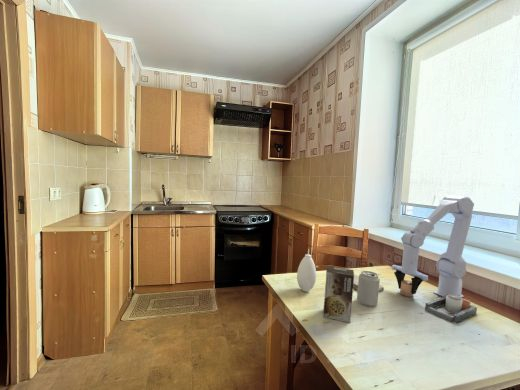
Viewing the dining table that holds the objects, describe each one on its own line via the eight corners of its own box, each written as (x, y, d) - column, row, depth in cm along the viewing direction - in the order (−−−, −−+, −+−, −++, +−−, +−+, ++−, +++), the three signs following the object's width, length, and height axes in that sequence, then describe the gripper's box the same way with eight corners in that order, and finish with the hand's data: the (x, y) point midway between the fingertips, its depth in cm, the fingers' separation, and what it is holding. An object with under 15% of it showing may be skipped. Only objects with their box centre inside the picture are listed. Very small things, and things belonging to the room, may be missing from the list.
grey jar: (448, 306, 102) (450, 292, 101) (463, 312, 97) (465, 298, 97) (442, 308, 99) (444, 294, 99) (457, 315, 95) (459, 300, 95)
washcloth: (350, 277, 128) (350, 271, 128) (384, 291, 113) (385, 284, 113) (335, 281, 121) (335, 275, 121) (369, 297, 107) (370, 289, 106)
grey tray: (445, 301, 106) (446, 295, 106) (476, 313, 97) (477, 307, 97) (424, 309, 97) (424, 303, 97) (455, 323, 88) (456, 316, 88)
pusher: (448, 303, 104) (449, 292, 104) (470, 311, 98) (471, 300, 97) (445, 304, 103) (446, 293, 103) (467, 312, 97) (469, 301, 96)
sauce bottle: (317, 295, 104) (320, 251, 102) (298, 294, 103) (301, 250, 102) (311, 287, 111) (315, 246, 110) (294, 286, 111) (297, 245, 110)
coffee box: (350, 314, 90) (354, 269, 89) (350, 323, 84) (354, 275, 83) (323, 308, 93) (327, 265, 92) (322, 316, 87) (326, 270, 86)
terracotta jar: (404, 290, 114) (405, 278, 113) (415, 295, 109) (417, 282, 109) (397, 292, 111) (398, 280, 111) (409, 297, 107) (410, 284, 107)
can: (379, 309, 95) (382, 277, 95) (358, 305, 97) (361, 275, 96) (374, 300, 103) (377, 271, 102) (355, 297, 104) (357, 268, 103)
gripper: (388, 256, 114) (385, 285, 114) (422, 266, 101) (419, 299, 102) (397, 254, 117) (395, 283, 118) (432, 264, 105) (428, 296, 106)
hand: (406, 290), depth 110 cm, fingers closed on terracotta jar, 5 cm apart
